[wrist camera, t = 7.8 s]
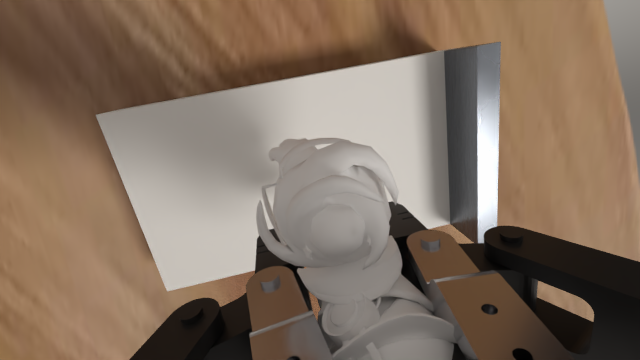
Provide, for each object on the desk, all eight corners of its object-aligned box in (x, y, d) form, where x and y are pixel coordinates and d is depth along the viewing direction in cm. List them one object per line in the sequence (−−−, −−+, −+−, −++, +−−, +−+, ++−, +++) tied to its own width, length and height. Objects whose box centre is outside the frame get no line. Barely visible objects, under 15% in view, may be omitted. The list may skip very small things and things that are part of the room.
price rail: (466, 219, 22) (496, 241, 19) (450, 223, 21) (477, 246, 19) (464, 47, 18) (500, 41, 15) (443, 50, 18) (477, 45, 15)
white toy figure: (374, 262, 17) (601, 650, 5) (303, 288, 16) (387, 747, 5) (326, 93, 14) (622, 184, 2) (238, 122, 13) (101, 376, 2)
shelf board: (443, 203, 24) (466, 219, 22) (179, 264, 23) (167, 291, 20) (437, 50, 21) (464, 47, 18) (121, 108, 19) (95, 114, 16)
